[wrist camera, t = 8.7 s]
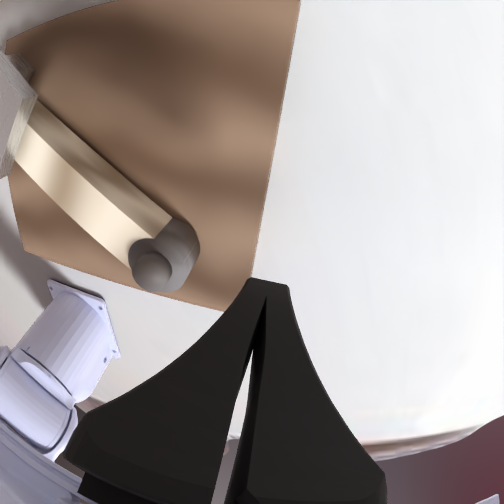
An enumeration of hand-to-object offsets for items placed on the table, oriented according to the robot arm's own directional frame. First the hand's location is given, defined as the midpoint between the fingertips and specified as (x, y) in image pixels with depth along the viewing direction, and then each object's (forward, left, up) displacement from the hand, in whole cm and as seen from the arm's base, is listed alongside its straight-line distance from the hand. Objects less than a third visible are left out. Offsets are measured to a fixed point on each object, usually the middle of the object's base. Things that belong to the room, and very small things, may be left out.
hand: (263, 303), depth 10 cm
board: (+2, +12, -8) cm, 15 cm away
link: (0, +11, -7) cm, 13 cm away
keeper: (+7, +18, -7) cm, 21 cm away
